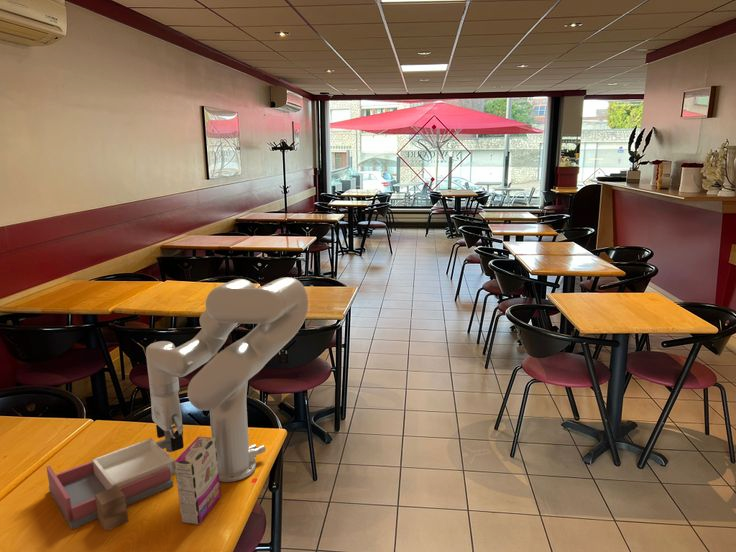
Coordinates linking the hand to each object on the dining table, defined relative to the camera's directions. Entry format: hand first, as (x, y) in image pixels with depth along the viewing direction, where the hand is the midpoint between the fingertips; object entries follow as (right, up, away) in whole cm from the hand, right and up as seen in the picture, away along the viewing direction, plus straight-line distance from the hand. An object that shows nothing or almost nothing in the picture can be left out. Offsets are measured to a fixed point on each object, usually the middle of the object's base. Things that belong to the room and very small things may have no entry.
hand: (170, 442), depth 151 cm
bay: (-11, -8, -12) cm, 18 cm away
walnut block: (-4, -11, -25) cm, 27 cm away
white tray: (-4, -5, -7) cm, 10 cm away
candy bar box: (+15, -10, -21) cm, 28 cm away
